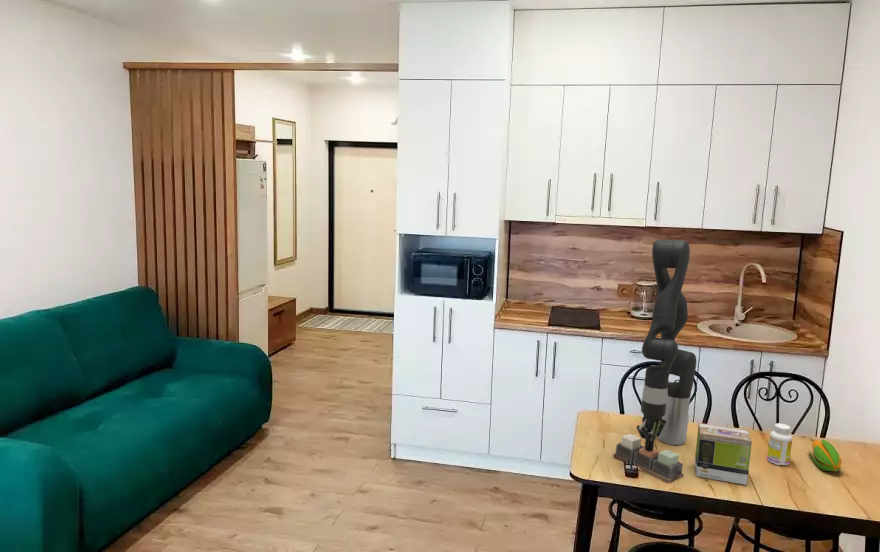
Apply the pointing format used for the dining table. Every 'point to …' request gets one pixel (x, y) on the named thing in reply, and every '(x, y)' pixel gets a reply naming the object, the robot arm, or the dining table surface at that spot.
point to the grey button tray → (649, 464)
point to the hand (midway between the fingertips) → (648, 450)
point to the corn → (826, 456)
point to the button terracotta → (648, 453)
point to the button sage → (668, 458)
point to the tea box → (723, 453)
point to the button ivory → (631, 441)
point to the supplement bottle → (780, 445)
